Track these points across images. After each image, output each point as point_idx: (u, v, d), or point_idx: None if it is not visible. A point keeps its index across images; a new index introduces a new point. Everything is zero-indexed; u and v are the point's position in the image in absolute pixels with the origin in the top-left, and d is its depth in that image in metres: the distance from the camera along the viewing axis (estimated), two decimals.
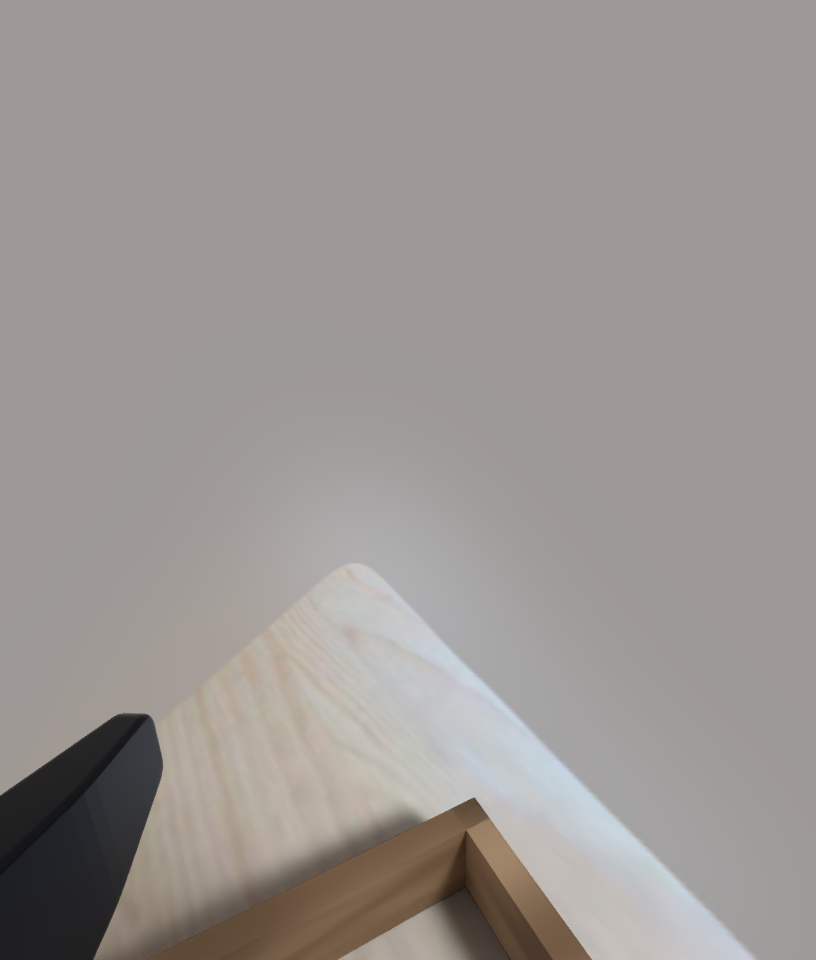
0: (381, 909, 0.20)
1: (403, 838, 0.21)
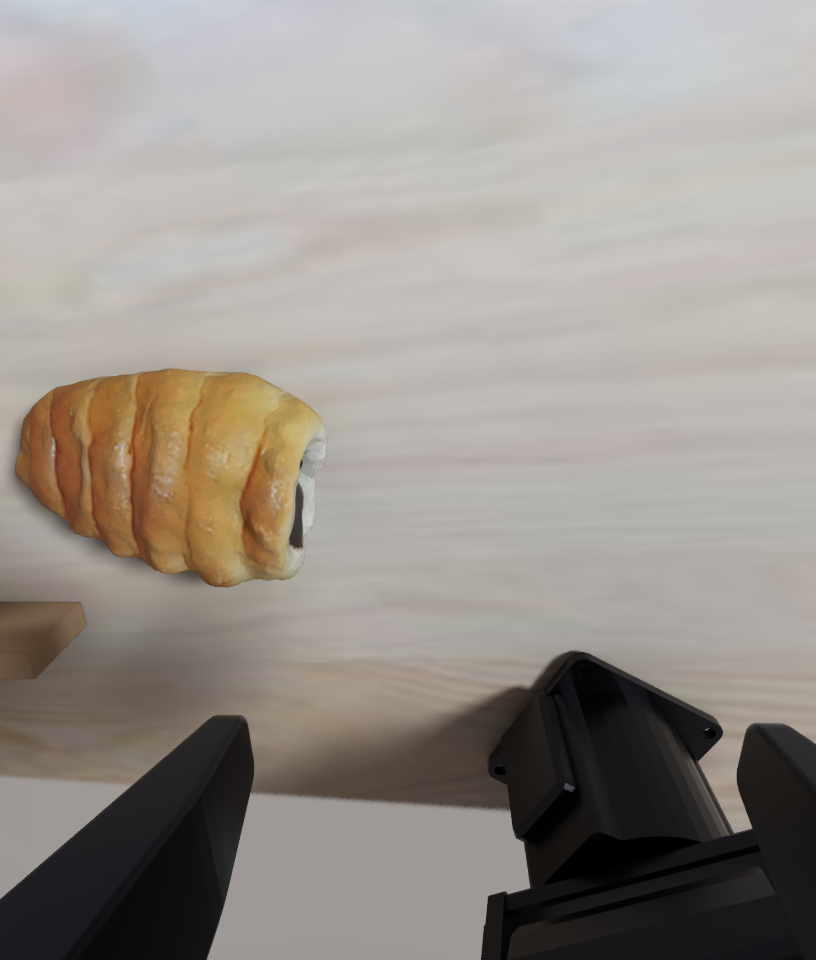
0: None
1: None
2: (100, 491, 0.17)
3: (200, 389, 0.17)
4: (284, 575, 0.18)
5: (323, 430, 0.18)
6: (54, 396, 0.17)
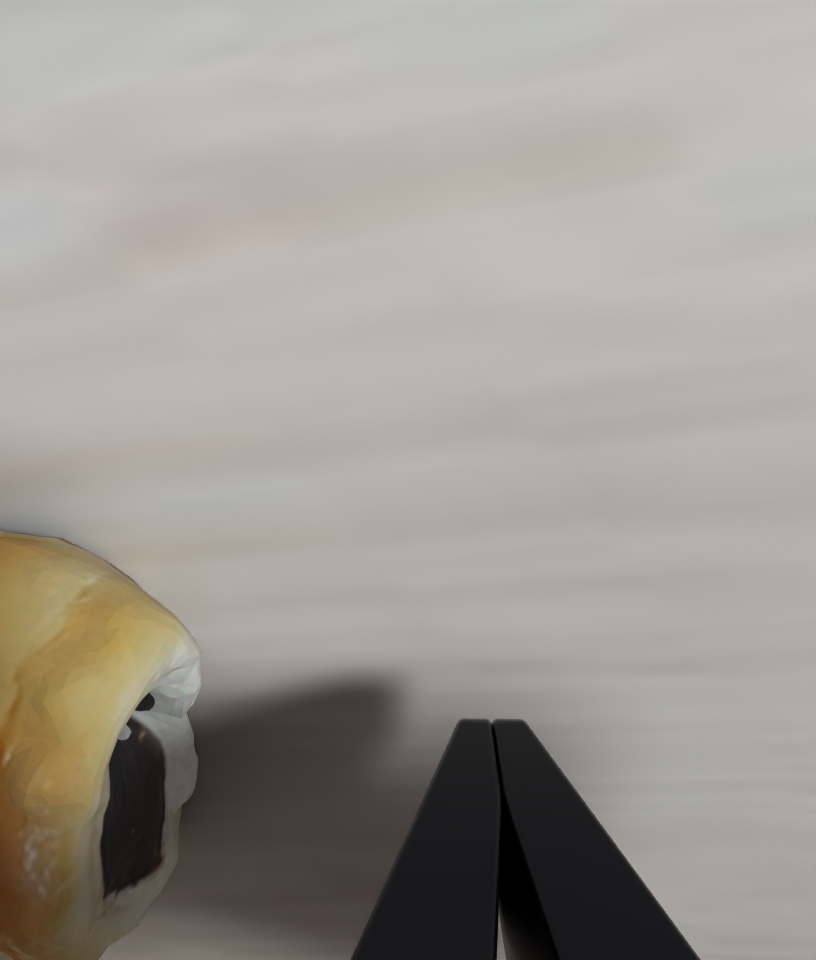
0: None
1: None
2: None
3: None
4: (117, 939, 0.09)
5: (184, 649, 0.08)
6: None
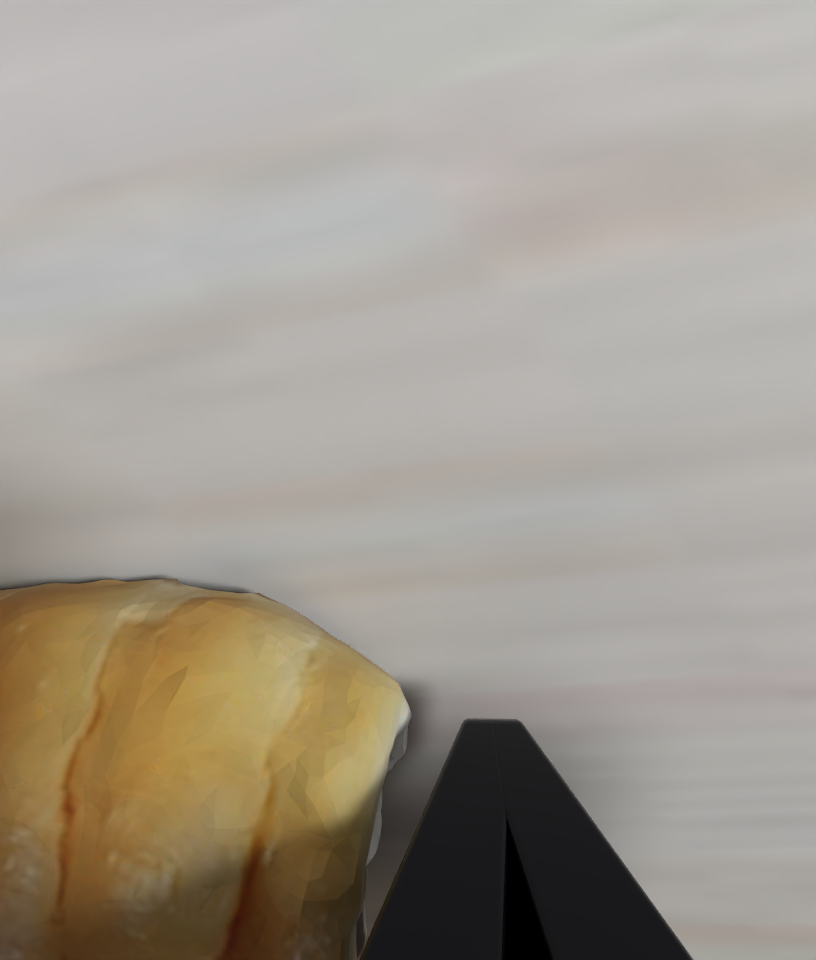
0: None
1: None
2: None
3: (96, 679, 0.06)
4: None
5: (406, 713, 0.08)
6: None
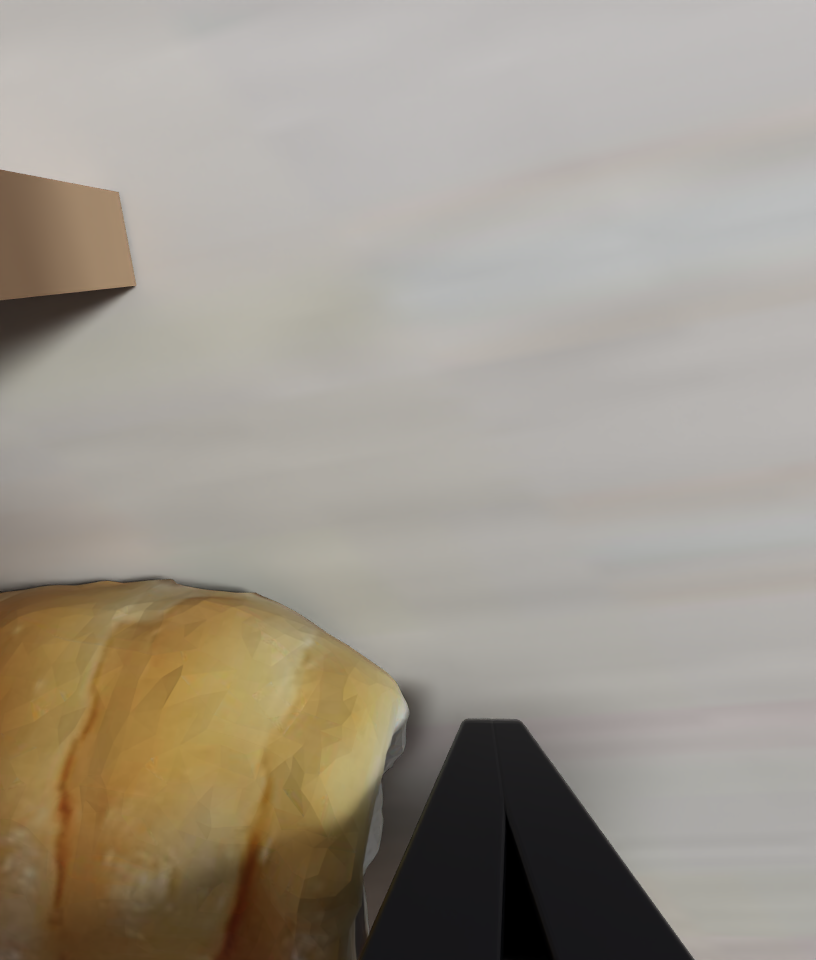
0: None
1: None
2: None
3: (91, 679, 0.06)
4: None
5: (404, 710, 0.08)
6: None
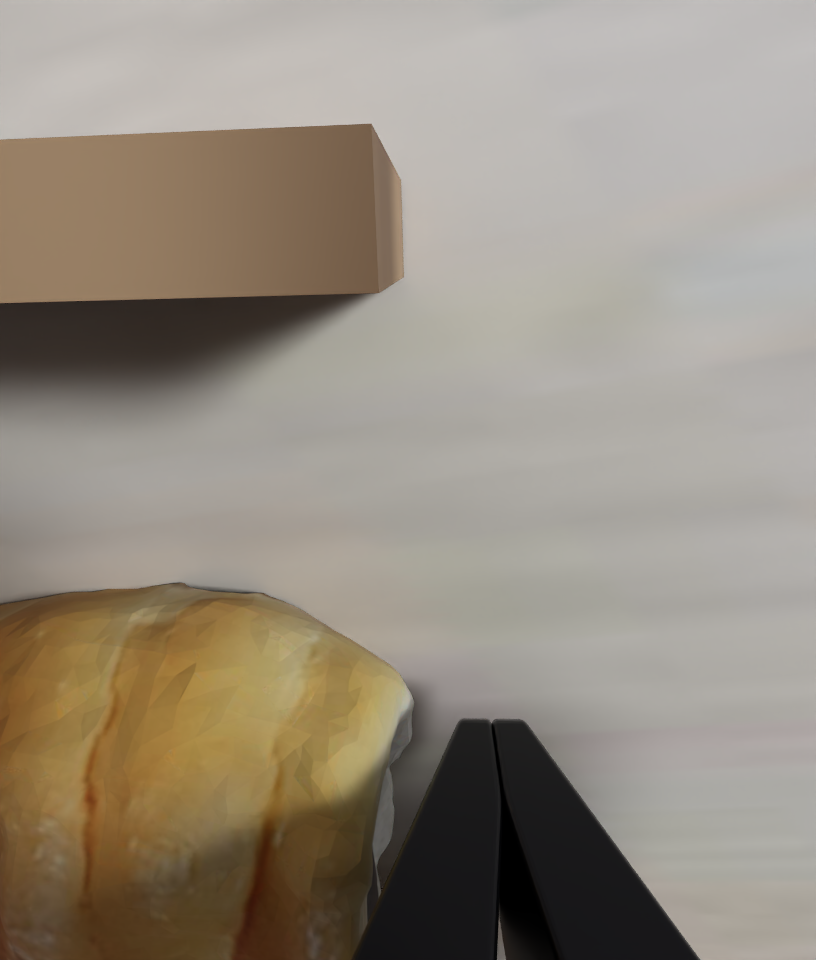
0: None
1: None
2: None
3: (111, 678, 0.07)
4: None
5: (408, 701, 0.08)
6: None
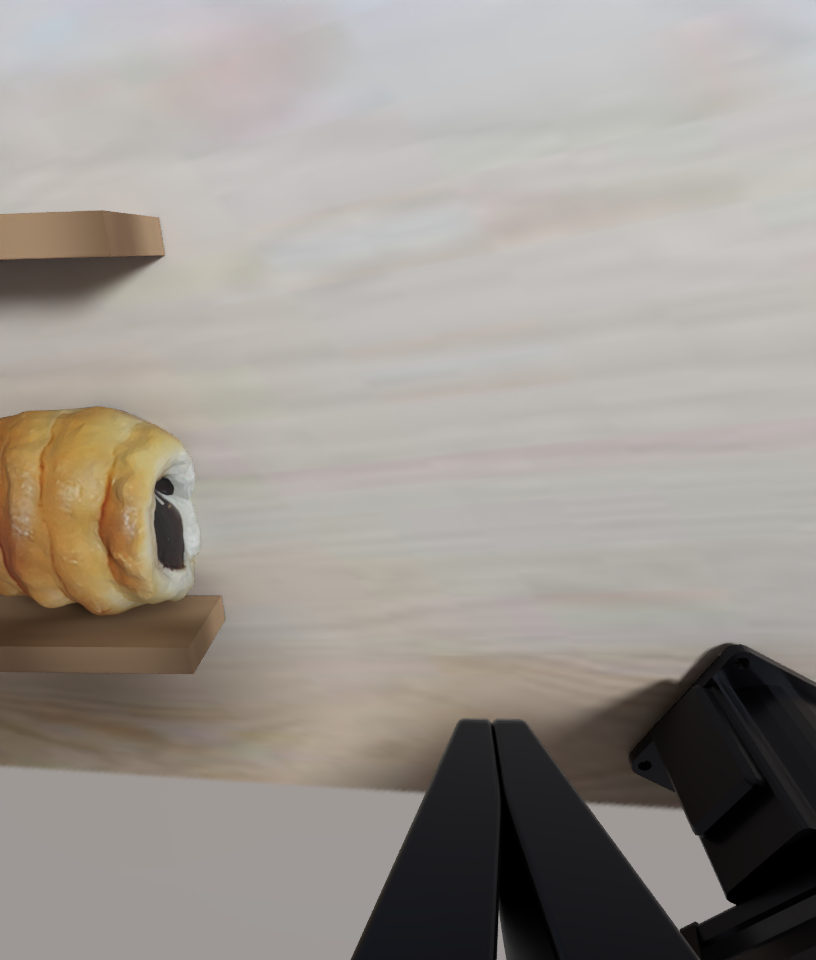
0: None
1: None
2: None
3: (51, 428, 0.17)
4: (166, 597, 0.19)
5: (184, 453, 0.18)
6: None
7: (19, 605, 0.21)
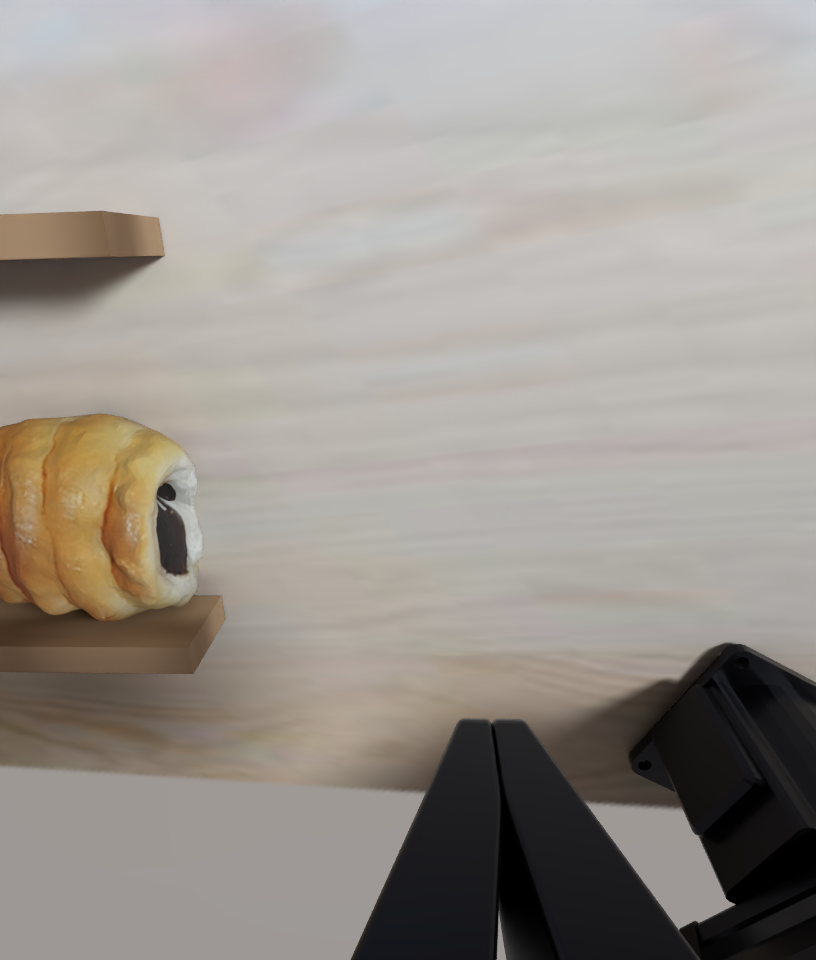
0: None
1: None
2: None
3: (53, 436, 0.17)
4: (169, 603, 0.19)
5: (185, 458, 0.18)
6: None
7: (19, 605, 0.21)
